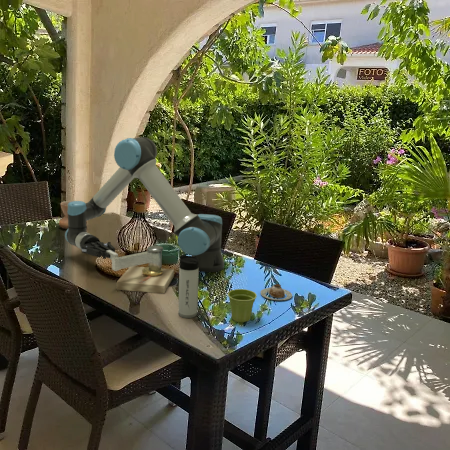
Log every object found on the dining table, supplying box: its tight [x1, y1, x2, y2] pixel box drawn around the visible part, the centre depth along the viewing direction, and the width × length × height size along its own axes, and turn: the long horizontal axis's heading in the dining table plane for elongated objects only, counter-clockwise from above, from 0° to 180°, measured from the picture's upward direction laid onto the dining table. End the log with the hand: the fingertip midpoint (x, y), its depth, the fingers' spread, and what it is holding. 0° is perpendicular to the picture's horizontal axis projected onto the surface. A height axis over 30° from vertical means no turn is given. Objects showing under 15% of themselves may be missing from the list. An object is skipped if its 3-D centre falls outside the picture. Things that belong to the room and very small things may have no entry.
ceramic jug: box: [58, 200, 88, 230], centre depth 250 cm, size 18×14×14 cm
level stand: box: [116, 266, 175, 294], centre depth 180 cm, size 18×18×3 cm
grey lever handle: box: [111, 245, 164, 276], centre depth 176 cm, size 21×8×10 cm, turn 133°
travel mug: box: [177, 254, 200, 319], centre depth 153 cm, size 6×7×20 cm
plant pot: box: [227, 288, 258, 323], centre depth 152 cm, size 9×9×9 cm
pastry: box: [260, 283, 293, 301], centre depth 174 cm, size 12×12×5 cm
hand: (116, 257), depth 177 cm, fingers closed
